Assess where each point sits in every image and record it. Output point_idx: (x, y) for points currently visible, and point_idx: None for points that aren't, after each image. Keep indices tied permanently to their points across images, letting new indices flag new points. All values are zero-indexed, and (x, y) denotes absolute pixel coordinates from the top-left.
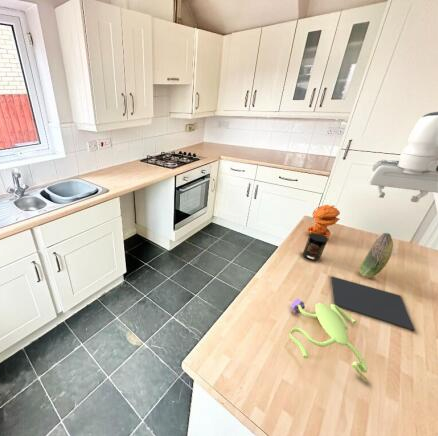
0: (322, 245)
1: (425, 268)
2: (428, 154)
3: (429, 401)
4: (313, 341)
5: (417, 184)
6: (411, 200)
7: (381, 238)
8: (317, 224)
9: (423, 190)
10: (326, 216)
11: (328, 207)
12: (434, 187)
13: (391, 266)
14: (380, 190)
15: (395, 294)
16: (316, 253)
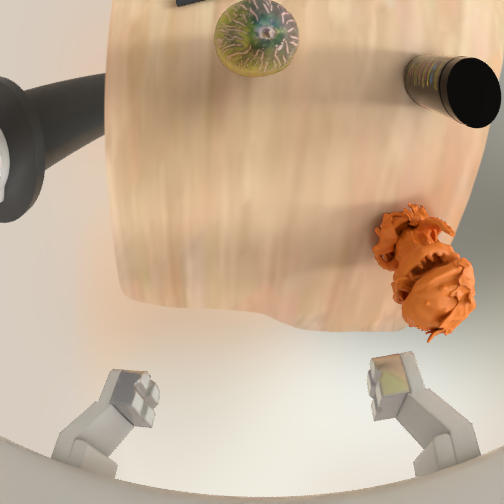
0: (448, 60)
1: (124, 216)
2: None
3: None
4: None
5: None
6: (152, 385)
7: (284, 17)
8: (451, 233)
9: (70, 472)
10: (450, 265)
11: (454, 313)
12: (13, 488)
13: (194, 168)
14: (445, 413)
15: (187, 1)
16: (436, 56)
